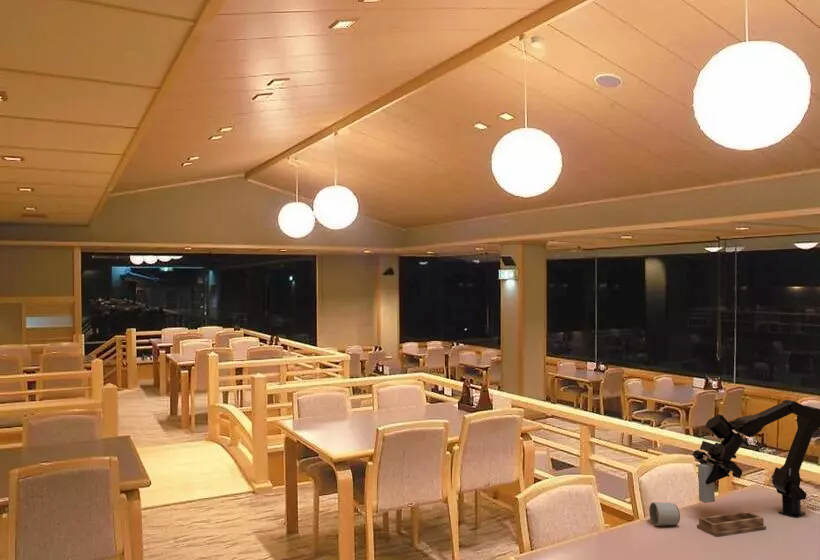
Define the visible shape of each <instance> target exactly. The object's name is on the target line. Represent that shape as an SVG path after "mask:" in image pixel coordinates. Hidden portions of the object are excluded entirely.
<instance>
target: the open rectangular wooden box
mask: <svg viewBox="0 0 820 560" xmlns="http://www.w3.org/2000/svg"><path fill="white" fill-rule="evenodd" d="M764 521H765V520H764V517H762V516H760V515H757V514H754V512H750V511H747V510H745V511H740V512H734V513H725V514H724V513H723V514H717V515H713V516H712V515H711V516H705V517H699V518H698V523H697V524H696V528H697V529H700V530H702V531H704V532H706V533H708V534H710V535H711V536H714V537H716V538H719V537H725V536H731V535H738V534H745V533H753V532H759V531H760V532H761V531H765V530H767V526H766V525H764V524H765V522H764Z"/></svg>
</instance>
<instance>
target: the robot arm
mask: <svg viewBox="0 0 820 560" xmlns="http://www.w3.org/2000/svg"><path fill="white" fill-rule="evenodd" d="M791 414H793V415H795V416H796V418H795V419H796V425H797V429H796V432H795V434H794V437H793V440H792V443H791V446H790V449H789V451H788V453H787V456H786V458H785V461H784V464H783V465H782V466H781V467H780V468H779V467H775V468H774V472H773V474H772V475H771V483H772V485H773V487H774V489H776V492H777V494H780V495H781V500H782V501H781V502H782V503H781V504H782V506H781V507H782V509H780V510H778V511H777V512H778V514H782V515H786V516H788V517H794V518H800V517H801V516H803V515H806V512H805V511H802V504H801V503H802V502H801V501H803V500H806V498H807V495H808V494H807V492H806V491H805V490H804V489H803V488H802V487H801V486H800V485H801V474H800V469H801V468H802V466H803V461H804V459H805V457H806V454H807V452H808V448H809V446H810V443H811V441H812V438H813V436H814V433H816V432H817V431H818V430H819V429H820V408H817V407H814V406H811V405H804V404H800V403H798V402H797V401H795V400H792V399H791V400H790V399H785V400H783V401H781V403H778V404H776V405H773V406H772V407H771V406H770V407H769V408H767V409H765V410H763V411H761V412H758V413H755V414H749V415H743V416H741V417H740V416H739V417H737V418H736V419H734V420H732V421H728V420H727V419H726V418H725V417H724V415H723V414H719V413H718V414H717V415H716V416H713V417H711V418H710V419H708V420H707V421H706V423H705V427H706V428H707V429H708V431H709V432H711V433H712V434H713V435H714V436H715V437H716V438H717V439H719V440H721V441H720V443H719V442H715V443H711V442H708V441H705V440H702V441H701V445H700V447H699V449H696V450H694V451H693V453H692V454H691V455H692V456H693V457H694V458H695V459H696V461H698V463H700V464H706V463H708V464H711V465H713V470H712V472H711V474H710V475H709V477H708V478H707V480H706V482H705V483H706V484H707V485H708V484H710V483H713V482H714V483H715V482H716V481H719V480H721V479H725V478H727V477H730V473H731V472H732V477H735V478H738V479H740V478H741V477H742V475H743V469H742V468H741V467H740V466H739V465H738V464H737V463H736V462H735V461H733V460H732V459H737V455H736V453H738V451H739V450H740V448H741V446H742V447H749V441H748V438H745V437H749V438H752V437H754V436H756V435H757V434H758V433H760V432H761V431H762V430H763V429H764V427H765V426H767V425H770V424H772V423H774V422H776V421H778V420H780V419H783V418H785V417H788V416H789V415H791ZM742 435H743V436H745V437H743V436H742ZM706 452H707V453H706Z"/></svg>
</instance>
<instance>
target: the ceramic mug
mask: <svg viewBox="0 0 820 560" xmlns="http://www.w3.org/2000/svg"><path fill="white" fill-rule="evenodd" d="M648 511H649V519H650V521H651V523H652V525H653V526H655V527H662V526H664V527H665V526H675V525H678V524H679V523H680V521H681V513H680V512H681V511H680V509H679V507H678V505H677V504H675V503H672V502H658V501H657V502H656V501H653V502H651V503H650V505H649V509H648Z"/></svg>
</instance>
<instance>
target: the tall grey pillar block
mask: <svg viewBox="0 0 820 560" xmlns="http://www.w3.org/2000/svg"><path fill="white" fill-rule="evenodd" d="M712 470H713V465H711V464H708V463H706V464H701V463H700V464H699V463H698V464H697V473H698V474H697V476H698V479H697V481H698V501H700V502H702V503H704V504H706V503H715V502H716V500H715V499H716V498H715V497H716V495H715V494H716V493H715V482H713V483H710V484H708V485H707V484H706V483H705V482H706V480H707V478H708V477H709V475H710V474H711V472H712Z"/></svg>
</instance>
